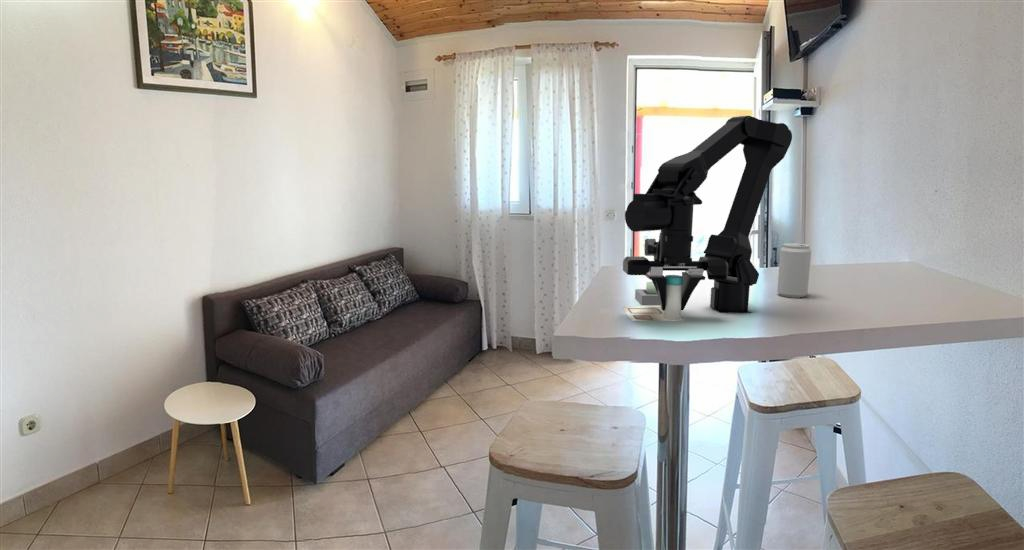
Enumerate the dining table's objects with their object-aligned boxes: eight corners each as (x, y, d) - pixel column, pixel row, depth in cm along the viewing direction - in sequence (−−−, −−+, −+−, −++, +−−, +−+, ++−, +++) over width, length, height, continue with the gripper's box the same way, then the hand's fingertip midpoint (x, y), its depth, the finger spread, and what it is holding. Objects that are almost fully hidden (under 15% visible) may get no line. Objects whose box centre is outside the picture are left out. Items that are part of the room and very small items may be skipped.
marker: (678, 316, 117) (680, 274, 116) (682, 320, 114) (685, 278, 112) (661, 316, 117) (663, 274, 116) (665, 320, 114) (667, 277, 113)
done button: (660, 292, 132) (661, 281, 131) (664, 296, 128) (665, 284, 128) (644, 292, 132) (644, 281, 131) (648, 296, 128) (648, 284, 128)
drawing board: (672, 307, 126) (672, 305, 126) (691, 324, 113) (691, 321, 113) (615, 307, 127) (615, 305, 126) (628, 324, 113) (628, 321, 113)
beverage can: (810, 299, 135) (815, 246, 133) (780, 297, 137) (784, 245, 135) (803, 293, 142) (807, 243, 139) (774, 292, 143) (778, 242, 141)
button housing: (666, 300, 134) (666, 289, 133) (674, 307, 127) (674, 295, 127) (634, 300, 134) (635, 289, 133) (641, 307, 127) (641, 295, 127)
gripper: (712, 225, 120) (707, 301, 123) (619, 225, 121) (616, 300, 123) (731, 231, 110) (726, 314, 112) (629, 230, 110) (626, 313, 112)
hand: (672, 310), depth 115 cm, fingers closed on marker, 3 cm apart
